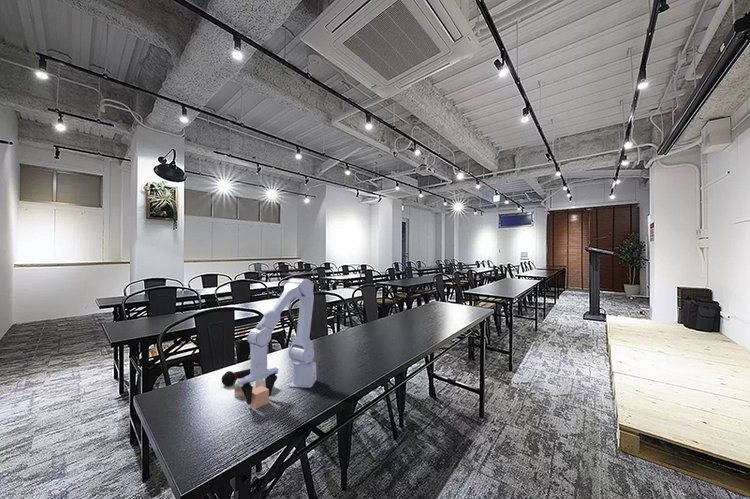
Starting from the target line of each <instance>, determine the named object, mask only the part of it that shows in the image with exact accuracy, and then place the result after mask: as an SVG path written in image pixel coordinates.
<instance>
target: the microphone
mask: <svg viewBox="0 0 750 499" xmlns="http://www.w3.org/2000/svg"><path fill="white" fill-rule="evenodd" d="M249 374H250V368H247V369H243V370H238V371H235V372H234V371H232V370H229V371H226V372H225V373H224V374H223V375H222V376H221V384H222V385H223V386H232V385H234V384H235V382H236V380H237V379H240V378H244V377H246V376H248V375H249Z"/></svg>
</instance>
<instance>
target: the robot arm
mask: <svg viewBox="0 0 750 499" xmlns="http://www.w3.org/2000/svg"><path fill="white" fill-rule="evenodd" d="M293 298H298V300H300V303H299V310H298V319H297V325H296V326H297V327H296V335H295V336H296V337H295V339H293V340H292V341H291V345H290V348H289V350H288V356H289V358H290V359H291V362H292V382H290V384H289V385H288V387H289V388H309V389H310V388H312V387H313V386H314V384H315V383H316V382H317V380H318V379H317V362H315V361H313V360H314V356H315V350H314V343H313V342H312V340H311V337H310V334H311V326H312V317H313V309H314V299H315V295H314V283H313V282H312V281H311V280H310V278H295V277H291V278H289V279H288V281H287V283H285V285H284V288H283V292H282V293H281V294H280V296H279V297H278V299H277V301H276V303H275V305H274V306H273V308H272V309H269V310H267V311H266V312H264V314H263V317H262V318H261V320H260V321H259V322H258V323H257V324H256V325H255V327H254V328H253V329H251V330H250V331H249V333H248V335H247V336H246V340H247V342H248V343H249V348H250V357H249V358H250V361H249V362H250V368H249V369H250V374H249V375H248V376H246V377H243V378H242V379H239V380H238V386H239V387H241V389H242V391H243V393H244V395H245V396H244V397H245V401H246V404H247V405H249V406H251V405H250V404H251V402H252V398H251V396H252V389H254V386H252V383H254V382H256V381H257V380H259V379H265V383H266V388H267V389H269V398H270V397H271V395H272V391H273V389H274V388H273V386H274V387H275V383H276V382H277V379H278V376H277V375H278V374H279V368H278V367H276V366H274V367H272V368H268V344H269V343H270V342H271V339H272V334H273V331H274V330H275V328H276V326H277V324H278V323H279V322H280V320H281V314H282V312H283V311H284V310H285V308H286V307H287V306H288V304H289V303H290V302H291V301H292V299H293ZM250 383H251V384H250Z"/></svg>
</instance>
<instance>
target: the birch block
mask: <svg viewBox="0 0 750 499" xmlns="http://www.w3.org/2000/svg"><path fill="white" fill-rule="evenodd" d="M240 379H242V378H240ZM238 380H239V379H237V380H236V381H234V398H239V397H245V395H244V393H243V391H242V389H241V387H239V386H238ZM250 384H251V385H252V382H251V383H250Z"/></svg>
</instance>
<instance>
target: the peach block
mask: <svg viewBox="0 0 750 499" xmlns="http://www.w3.org/2000/svg"><path fill="white" fill-rule="evenodd" d="M251 398H252V402H251V404H250V405H249V406H251V407H252V408H253V409H258V408H261V407H263V406H265V405H269V403H270V397H269V389H267V388H265V387H264V386H259V387H257V388H256V387H253V389H252V396H251Z"/></svg>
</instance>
